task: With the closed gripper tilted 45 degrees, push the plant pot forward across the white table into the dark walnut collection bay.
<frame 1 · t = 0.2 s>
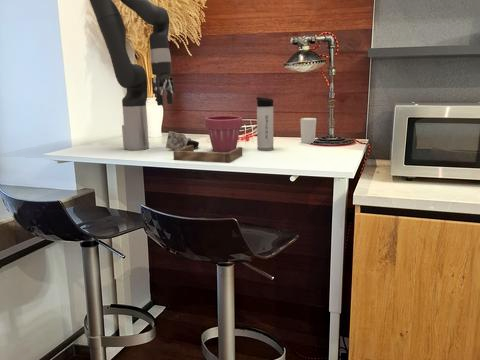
hand: (165, 104, 175), 18 cm above the table, tool pointing down, fingers open, 8 cm apart
travel mug: (265, 149, 177), on the table
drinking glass: (308, 143, 191), on the table
caster wheel: (184, 149, 182), on the table
plant pot: (224, 150, 177), on the table
collection bay: (209, 157, 163), on the table
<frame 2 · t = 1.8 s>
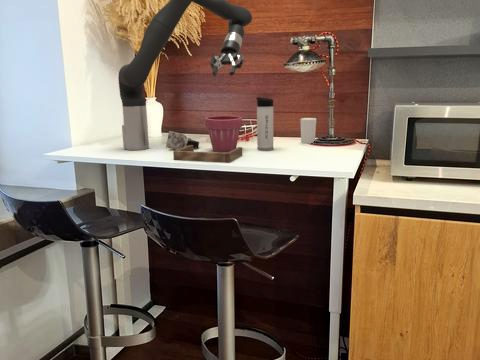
hand: (222, 74, 186), 29 cm above the table, tool tilted 45°, fingers open, 7 cm apart
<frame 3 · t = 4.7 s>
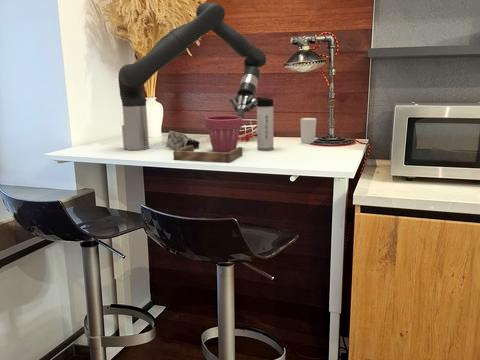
hand: (239, 117, 192), 11 cm above the table, tool tilted 45°, fingers closed
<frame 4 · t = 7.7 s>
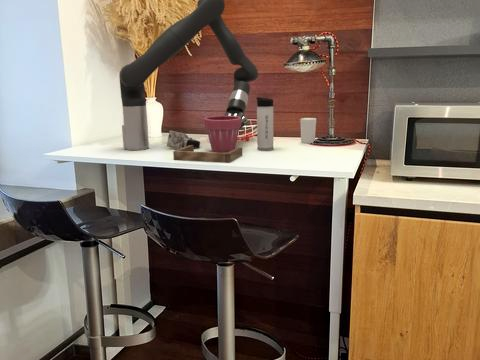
hand: (228, 137, 180), 4 cm above the table, tool tilted 45°, fingers closed
plant pot: (223, 151, 176), on the table, touching gripper
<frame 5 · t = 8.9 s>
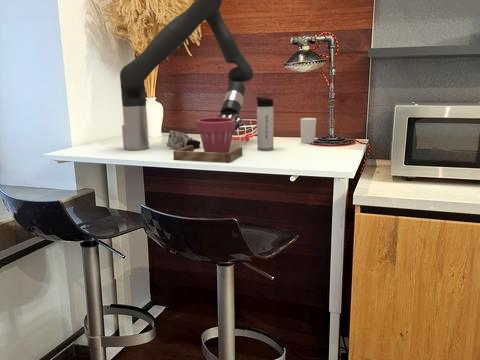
hand: (222, 139, 174), 4 cm above the table, tool tilted 45°, fingers closed
plant pot: (217, 154, 170), on the table, touching gripper
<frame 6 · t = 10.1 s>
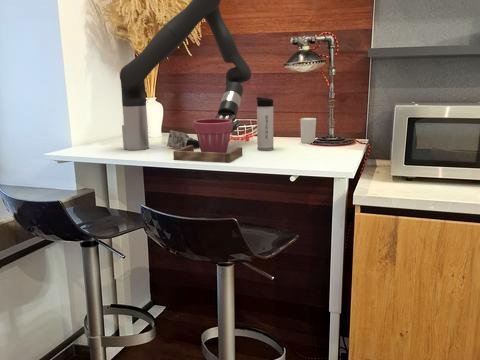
hand: (219, 141, 171), 4 cm above the table, tool tilted 45°, fingers closed
plant pot: (214, 155, 167), on the table, touching gripper
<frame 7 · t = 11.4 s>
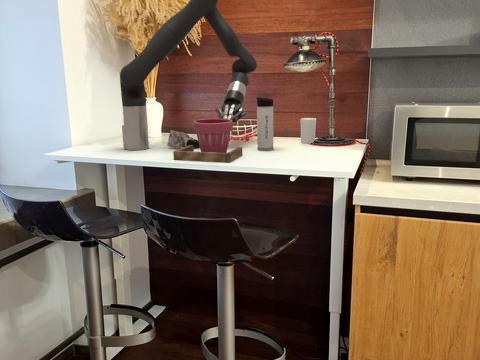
hand: (225, 129, 176), 8 cm above the table, tool tilted 45°, fingers closed
plant pot: (214, 155, 167), on the table
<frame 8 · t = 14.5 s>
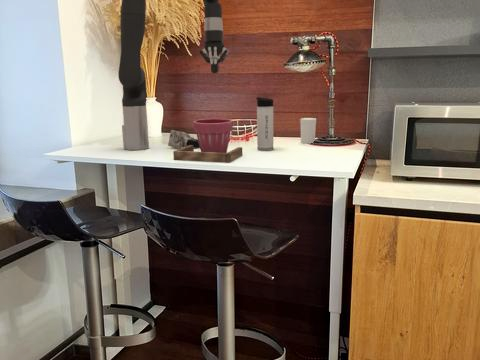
hand: (215, 73, 189), 29 cm above the table, tool pointing down, fingers closed
at the end: plant pot inside the target area (1.4 cm from its centre), on the table; plant pot tilted 0° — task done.
